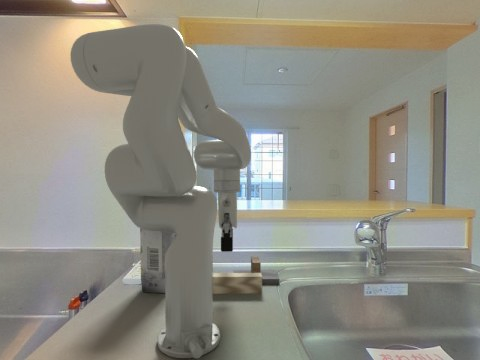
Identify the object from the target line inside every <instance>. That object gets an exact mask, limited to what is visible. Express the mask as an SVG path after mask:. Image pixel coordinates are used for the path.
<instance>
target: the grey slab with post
mask: <svg viewBox="0 0 480 360" xmlns="http://www.w3.org/2000/svg"><path fill="white" fill-rule="evenodd" d="M232 273H261V275H262V285H278V284H279V285H280V281H281V280H280V276H279V273H277V270H276V269H262V268H261V259H260V256H259V254H250V269H233V271H232Z"/></svg>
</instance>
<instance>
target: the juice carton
mask: <svg viewBox="0 0 480 360" xmlns="http://www.w3.org/2000/svg"><path fill="white" fill-rule="evenodd" d="M139 229H140V230H139V231H140V234H139V237H140V238H139V239H140V242H139V243H140V244H139V245H140V280H141V281H140V283H141V289H142V292H143V293H160V294H163V293H164V294H165V256H166V252H167V250H168V248H169V247H170V245H171V244H172V242H173V241H174V240H175V238H176V236H177V234H176V233H171V232H162V231H148V230H143V229H141V228H139Z"/></svg>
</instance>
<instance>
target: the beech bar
mask: <svg viewBox="0 0 480 360" xmlns="http://www.w3.org/2000/svg"><path fill="white" fill-rule="evenodd" d="M215 294H217V295H218V294H219V295H220V294H221V295H222V294H223V295H224V294H225V295H226V294H227V295H228V294H263V284H262V275H261V273H233V272H213V295H215Z"/></svg>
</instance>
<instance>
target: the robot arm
mask: <svg viewBox="0 0 480 360" xmlns="http://www.w3.org/2000/svg"><path fill="white" fill-rule="evenodd" d="M69 55H70V62H71V63H70V64H71V68H72V69H73V72H74V73H75V74H76V76H77V78H78V79H79V80H80V81H81V83H82V84H84V85H85V86H86V87H87V88H89V89H91V90H93V91H95V92H99V93H104V94H112V95H119V96H125V97H130V99H129V100H128V101H129V102H128V104H127V106H126V109H125V111H124V113H123V120H122V132H123V135H124V138H125V140H126V142H127V143H125V144H121V145H118V146H115V147H114V148H113V149H111V151H110V152H109V153H108V155H107V156H106V159H105V162H104V175H105V176H104V177H105V181H106V184H107V187H108V188H109V191H110V192H111V194H112V196H113V197H114V198H115V200H116V201H117V202H118V204H119V205H120V207H121V208H122V210H123V211H124V212H125V214H126V215H127V217H128V219H130V220H131V223H133V224H134V225H135V226H136V227H137V228H139V229H140V228H141V229H143V230H148V231H162V232H171V233H176V234H177V236H176V238H175V240H174V241H173V242H172V244H171V245H170V247H169V248H168V250H167V252H166V256H165V293H164V294H165V295H164V302H165V304H164V306H165V310H164V311H165V312H164V313H165V320H164V321H165V325H164V326H165V327H163V328H162V330H161V331H159V333H158V335H157V347H158V350H160V352H161V353H163V354H164V355H166V356H169V357H172V358H175V359H191V358H194V359H199V358H201V357H202V356H204V355H207V354H208V353H210V352H211V351H213V350H214V349H215V348H216V347H217V346H218V345H219V344H220V341H221V330H220V329H219V327H218V326H217V325H216V324H215V323H213V320H214V319H213V317H214V315H213V314H214V313H213V310H214V309H213V307H214V306H213V305H214V304H213V303H214V301H213V300H214V299H213V298H214V297H213V296H214V294H213V273H214V271H213V270H214V269H213V267H214V266H213V262H214V261H213V259H214V257H213V254H214V253H213V252H214V237H215V236H214V234H215V227H216V221H217V216H218V225H219V228H220V230H221V236H220V252H221V253H222V252H223V253H226V252H227V253H228V252H229V253H231V252H233V251H234V246H233V245H234V242H233V241H234V236H233V235H234V232H233V230H234V229H237V227H238V197H237V195H238V194H237V193H240V192H241V170H243V169H246V168H247V167H248V166H249V165H250V163H251V161H252V160H251V159H252V151H251V145H250V142H249V138H248V135H247V132H246V130H245V128H244V127H243V125H242V123H240V121H238V120H237V119H236V118H235V117H234V116H233V115H231V114H229V113H228V112H227V111H225V110H223V109H222V108H221V107H218V106H217V103H216V101H215V98H214V95H213V92H212V91H211V88H210V85H209V83H208V79H207V77H206V75H205V72H204V69H203V67H202V64H201V61H200V58H199V57H198V55H197V53H195V51H194V50H193V49H191V48H190V47H187V46H186V43H185V41H184V39H183V36H182V35H181V33H180V32H179V31H178V30H177V29H176V28H175V27H173V26H169V25H165V24H156V23H155V24H152V23H151V24H138V25H133V26H130V25H129V26H125V27H120V28H113V29H105V30H104V29H103V30H98V31H92V32H87V33H85V34H82V35H80V36H79V37H78V38H76V40H75V41H74V42H73V44H72V46H71V48H70V54H69ZM180 123H181V124H180ZM181 125H182V127H184V129H187V130H189V131H191V132H193V133H195V134H198V135H201V136H204V137H208V138H212V139H214V140H212V139H211V140H202V141H201V142H199V143H198V144H197V145H196V146H195V148H194V151H193V157H192V155H191V152H190V149H189V146H188V144H187V141H186V138H185V136H184V133H183V130H182V127H181ZM193 158H194V160H193ZM195 164H196V165H197V166H198V167H199V168H201V169H203V170H209V171H210V170H213V191H212V190H210V189H209V188H206V187H203V186H198V185H196V184H197V183H196V182H197V170H196V166H195ZM214 193H216V194H217V197H216V194H214ZM233 228H234V229H233Z"/></svg>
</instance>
